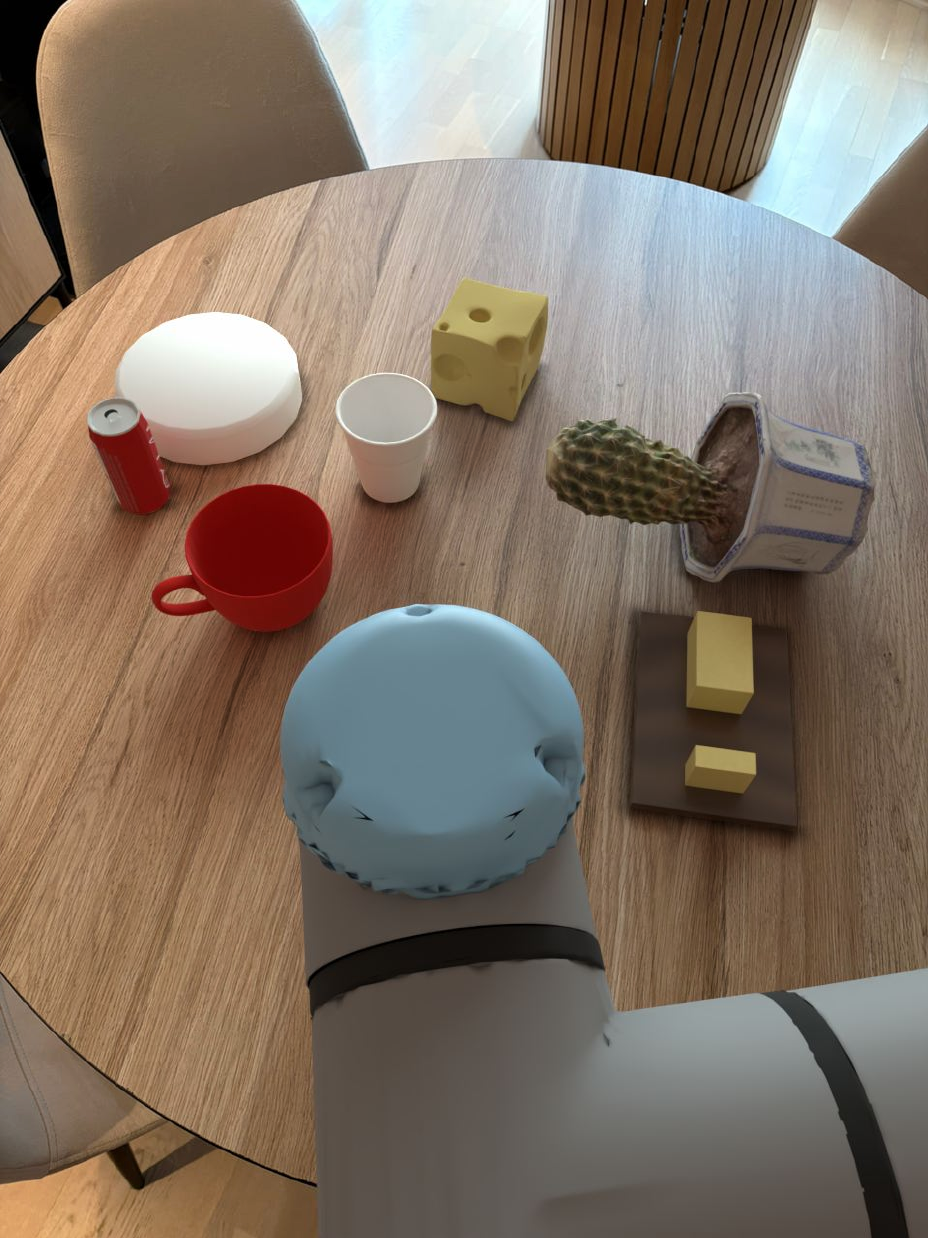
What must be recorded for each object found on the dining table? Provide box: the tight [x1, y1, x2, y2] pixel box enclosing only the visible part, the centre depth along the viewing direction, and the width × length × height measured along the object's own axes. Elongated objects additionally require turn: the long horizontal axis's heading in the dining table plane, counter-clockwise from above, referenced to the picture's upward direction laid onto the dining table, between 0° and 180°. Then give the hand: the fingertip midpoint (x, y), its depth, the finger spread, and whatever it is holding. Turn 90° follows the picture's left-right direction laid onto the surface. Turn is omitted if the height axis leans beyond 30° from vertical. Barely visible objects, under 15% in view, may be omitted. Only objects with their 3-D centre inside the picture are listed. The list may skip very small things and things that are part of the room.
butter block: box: [686, 610, 754, 714], centre depth 87 cm, size 8×5×4 cm, turn 172°
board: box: [629, 610, 798, 832], centre depth 87 cm, size 20×14×1 cm
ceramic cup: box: [151, 483, 334, 632], centre depth 88 cm, size 13×17×10 cm
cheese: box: [430, 276, 549, 422], centre depth 106 cm, size 10×11×10 cm
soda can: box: [86, 396, 172, 515], centre depth 95 cm, size 6×6×12 cm
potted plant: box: [545, 391, 877, 583], centre depth 90 cm, size 18×18×30 cm
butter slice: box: [685, 745, 756, 794], centre depth 81 cm, size 2×5×4 cm, turn 82°
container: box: [113, 311, 303, 466], centre depth 106 cm, size 20×20×5 cm
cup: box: [334, 372, 438, 504], centre depth 97 cm, size 10×10×11 cm
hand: (434, 1023), depth 55 cm, fingers closed on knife, 2 cm apart
